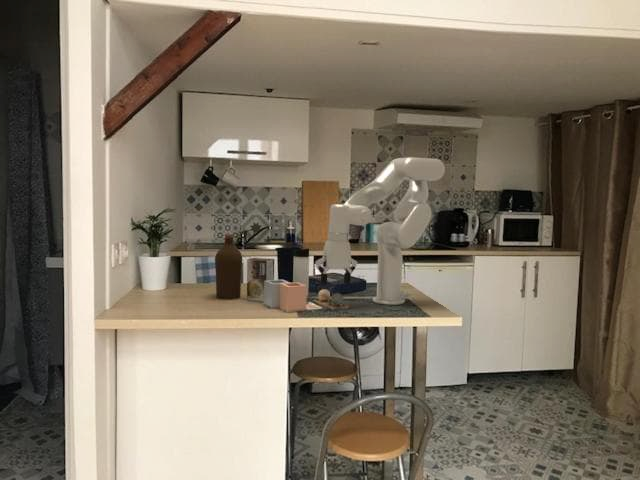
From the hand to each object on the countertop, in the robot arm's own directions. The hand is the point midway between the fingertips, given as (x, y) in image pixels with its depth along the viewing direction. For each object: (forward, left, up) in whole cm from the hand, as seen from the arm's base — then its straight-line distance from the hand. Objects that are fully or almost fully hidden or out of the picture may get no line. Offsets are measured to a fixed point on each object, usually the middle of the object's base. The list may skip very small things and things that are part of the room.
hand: (335, 284), depth 186 cm
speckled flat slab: (0, -4, -9) cm, 10 cm away
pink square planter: (+16, -3, -9) cm, 18 cm away
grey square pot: (+19, -10, -9) cm, 23 cm away
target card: (+9, -5, -9) cm, 13 cm away
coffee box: (+21, -22, -9) cm, 32 cm away
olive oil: (+31, -31, -9) cm, 45 cm away
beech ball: (0, -9, -6) cm, 10 cm away
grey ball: (-1, 0, -6) cm, 6 cm away
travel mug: (+4, -21, -9) cm, 23 cm away
